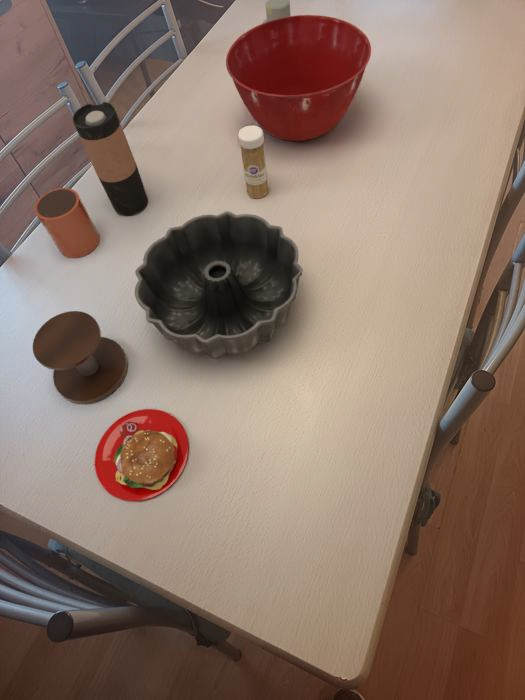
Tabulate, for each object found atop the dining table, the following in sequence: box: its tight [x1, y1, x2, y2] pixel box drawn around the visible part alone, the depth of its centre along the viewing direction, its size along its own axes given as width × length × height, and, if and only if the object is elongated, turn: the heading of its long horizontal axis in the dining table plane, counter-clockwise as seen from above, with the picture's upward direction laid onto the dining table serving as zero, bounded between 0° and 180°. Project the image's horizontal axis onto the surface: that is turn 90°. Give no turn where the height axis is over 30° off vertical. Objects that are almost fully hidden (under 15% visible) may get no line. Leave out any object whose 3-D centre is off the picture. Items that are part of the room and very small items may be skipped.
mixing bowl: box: [225, 14, 372, 142], centre depth 104 cm, size 28×28×16 cm
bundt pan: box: [134, 210, 304, 360], centre depth 82 cm, size 26×26×10 cm
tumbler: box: [33, 187, 101, 259], centre depth 94 cm, size 8×8×10 cm
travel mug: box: [72, 101, 149, 217], centre depth 94 cm, size 8×8×20 cm
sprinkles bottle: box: [237, 124, 270, 199], centre depth 95 cm, size 5×5×13 cm
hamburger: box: [94, 408, 190, 502], centre depth 71 cm, size 14×14×6 cm
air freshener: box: [261, 0, 291, 24], centre depth 124 cm, size 11×8×10 cm
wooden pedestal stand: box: [32, 310, 129, 405], centre depth 78 cm, size 12×12×10 cm
